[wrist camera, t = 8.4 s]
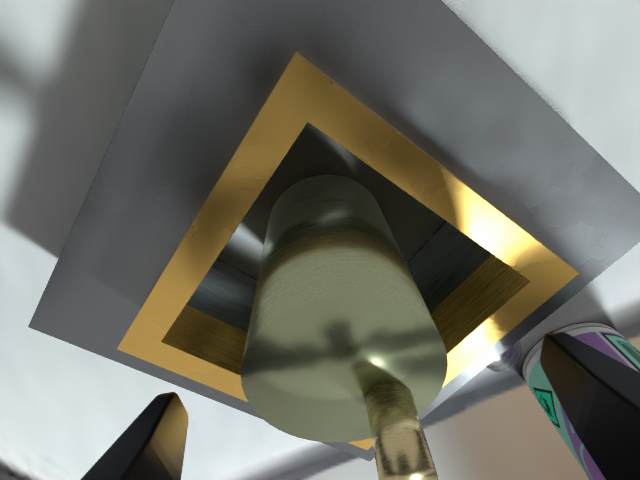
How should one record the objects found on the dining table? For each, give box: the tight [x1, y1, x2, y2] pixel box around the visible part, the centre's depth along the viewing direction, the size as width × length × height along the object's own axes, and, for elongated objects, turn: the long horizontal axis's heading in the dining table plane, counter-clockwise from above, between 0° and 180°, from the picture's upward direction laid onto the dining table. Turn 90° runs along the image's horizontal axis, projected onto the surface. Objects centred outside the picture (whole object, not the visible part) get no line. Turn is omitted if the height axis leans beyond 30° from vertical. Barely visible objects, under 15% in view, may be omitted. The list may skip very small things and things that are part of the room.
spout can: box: [241, 175, 448, 480], centre depth 12 cm, size 5×5×10 cm
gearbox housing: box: [28, 0, 640, 461], centre depth 14 cm, size 18×16×6 cm
